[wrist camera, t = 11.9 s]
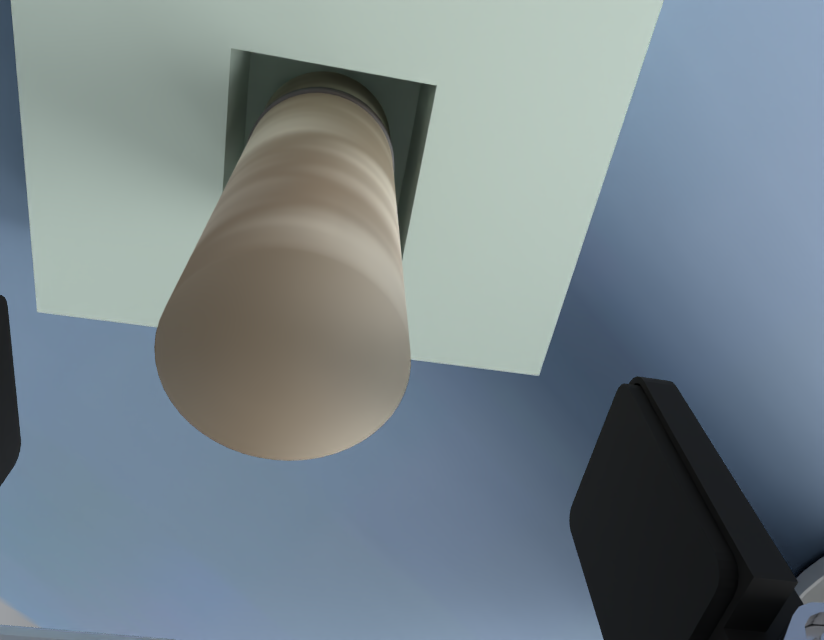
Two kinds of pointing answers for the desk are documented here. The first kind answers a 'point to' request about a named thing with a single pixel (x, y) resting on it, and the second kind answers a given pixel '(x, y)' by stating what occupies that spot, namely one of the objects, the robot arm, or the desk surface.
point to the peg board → (409, 133)
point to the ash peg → (295, 284)
